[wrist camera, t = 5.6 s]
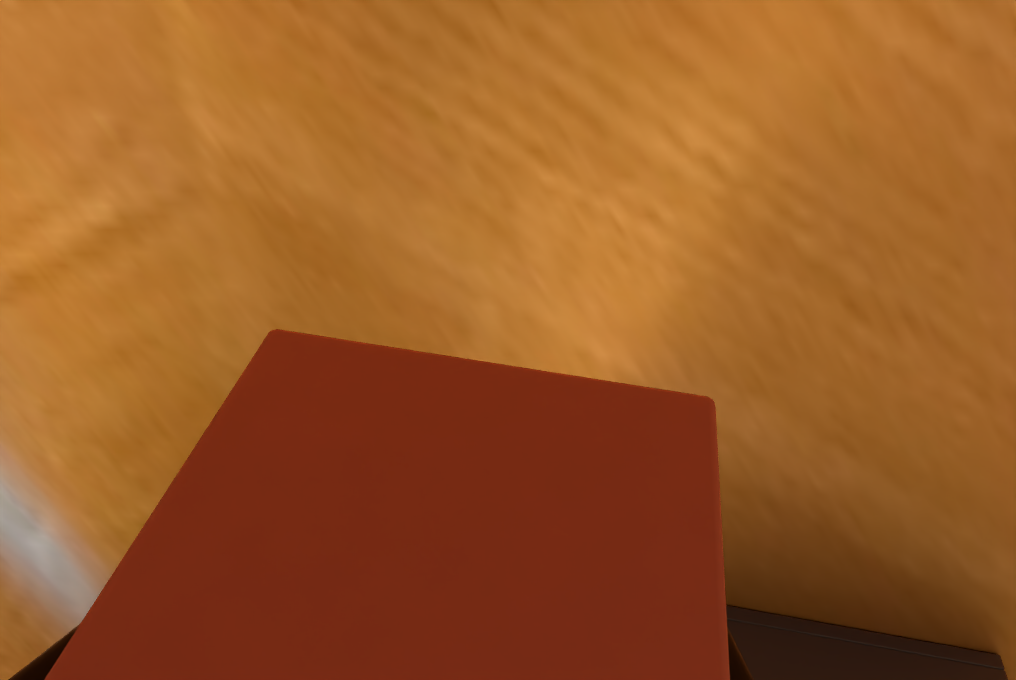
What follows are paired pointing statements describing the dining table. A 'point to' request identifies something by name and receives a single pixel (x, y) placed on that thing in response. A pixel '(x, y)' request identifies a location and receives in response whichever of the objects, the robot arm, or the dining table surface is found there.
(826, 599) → the dining table surface
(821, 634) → the carton
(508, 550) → the block
